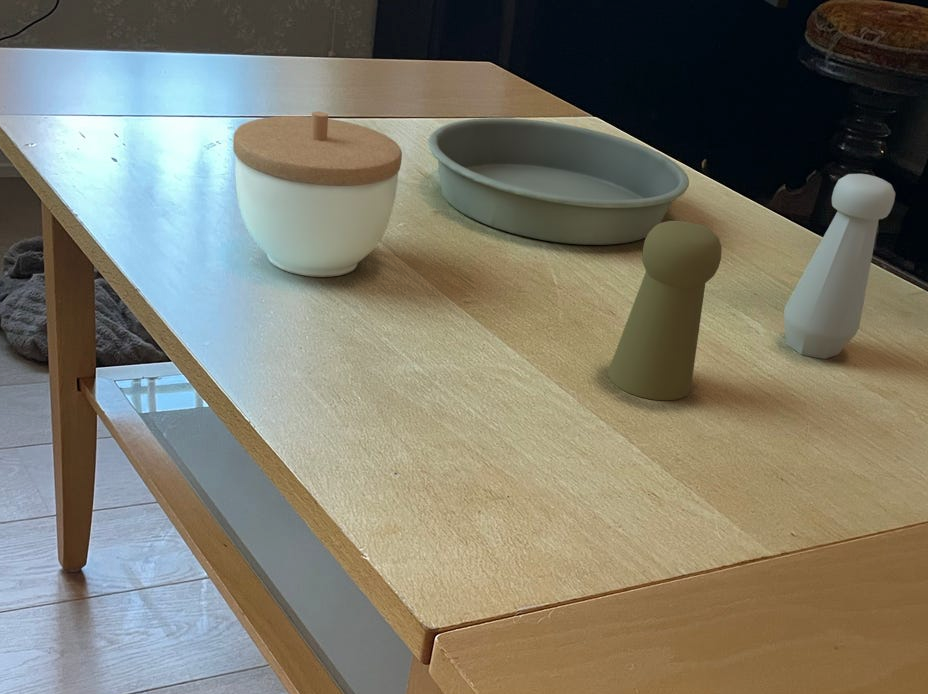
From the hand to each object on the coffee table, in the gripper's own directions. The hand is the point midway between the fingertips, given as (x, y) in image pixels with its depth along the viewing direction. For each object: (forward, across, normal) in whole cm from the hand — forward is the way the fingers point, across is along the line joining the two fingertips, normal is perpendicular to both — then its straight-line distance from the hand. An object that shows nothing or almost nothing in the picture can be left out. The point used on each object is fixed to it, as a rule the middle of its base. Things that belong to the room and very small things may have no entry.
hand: (858, 14), depth 85 cm
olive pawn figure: (+22, +16, +16) cm, 32 cm away
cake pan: (+22, +14, -20) cm, 33 cm away
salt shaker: (+22, 0, +9) cm, 24 cm away
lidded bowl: (+22, +38, -3) cm, 45 cm away
